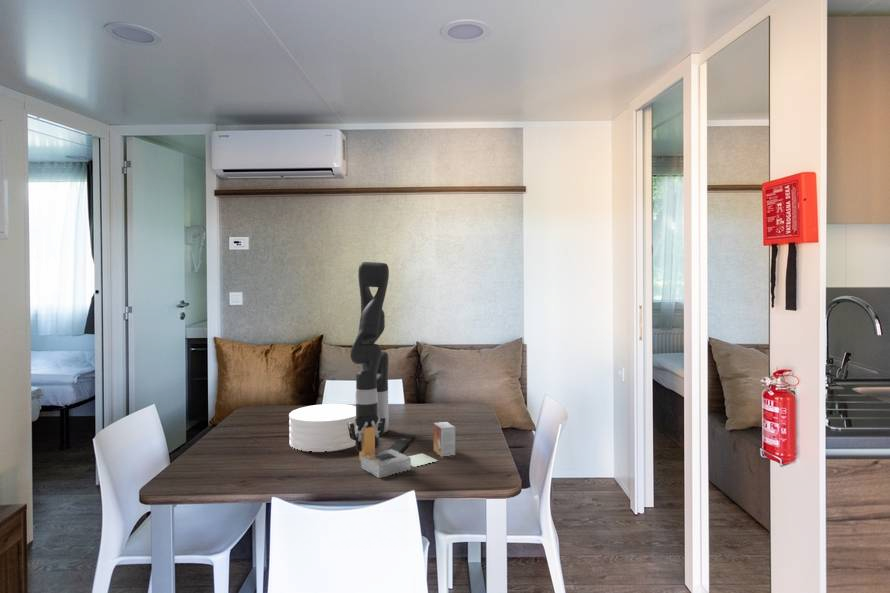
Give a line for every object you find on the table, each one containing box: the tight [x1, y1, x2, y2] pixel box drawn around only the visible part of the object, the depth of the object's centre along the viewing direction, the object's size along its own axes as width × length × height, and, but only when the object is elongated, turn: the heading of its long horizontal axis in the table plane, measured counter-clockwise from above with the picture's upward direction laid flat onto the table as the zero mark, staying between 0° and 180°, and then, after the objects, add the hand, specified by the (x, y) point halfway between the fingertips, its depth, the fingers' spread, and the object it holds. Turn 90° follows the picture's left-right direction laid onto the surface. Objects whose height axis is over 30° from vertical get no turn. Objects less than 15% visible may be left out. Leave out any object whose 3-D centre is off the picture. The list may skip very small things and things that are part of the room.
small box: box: [433, 421, 456, 458], centre depth 195 cm, size 8×6×10 cm
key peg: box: [358, 427, 376, 462], centre depth 188 cm, size 4×4×12 cm
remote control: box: [387, 434, 416, 454], centre depth 204 cm, size 5×24×1 cm, turn 168°
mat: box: [407, 452, 439, 468], centre depth 188 cm, size 10×10×1 cm
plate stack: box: [288, 403, 358, 453], centre depth 212 cm, size 28×28×12 cm
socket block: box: [360, 448, 412, 479], centre depth 180 cm, size 12×12×4 cm
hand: (367, 449), depth 188 cm, fingers open, 5 cm apart
